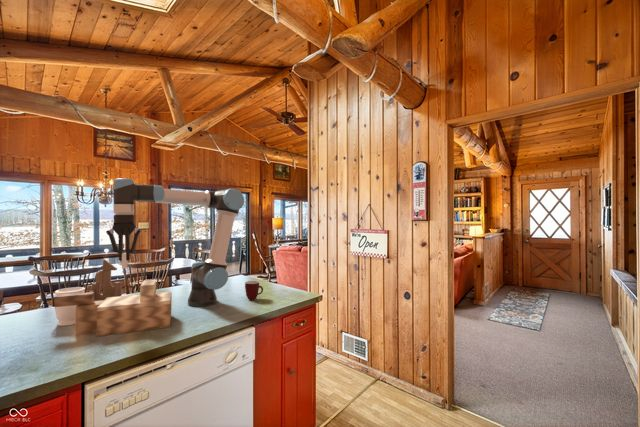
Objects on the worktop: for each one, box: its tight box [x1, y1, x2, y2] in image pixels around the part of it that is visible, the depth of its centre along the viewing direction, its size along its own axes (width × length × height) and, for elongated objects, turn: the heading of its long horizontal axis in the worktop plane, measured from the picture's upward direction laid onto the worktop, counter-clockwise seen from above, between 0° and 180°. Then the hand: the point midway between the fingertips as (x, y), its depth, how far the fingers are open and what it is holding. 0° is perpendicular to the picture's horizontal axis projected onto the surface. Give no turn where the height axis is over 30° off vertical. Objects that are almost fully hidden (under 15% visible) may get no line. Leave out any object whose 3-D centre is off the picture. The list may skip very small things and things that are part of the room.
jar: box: [54, 286, 86, 327], centre depth 131 cm, size 11×10×15 cm
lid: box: [97, 278, 173, 311], centre depth 130 cm, size 26×16×8 cm, turn 115°
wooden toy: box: [89, 258, 123, 301], centre depth 155 cm, size 16×7×25 cm, turn 121°
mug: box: [244, 280, 264, 301], centre depth 172 cm, size 10×8×10 cm
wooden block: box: [53, 291, 95, 308], centre depth 120 cm, size 12×4×4 cm, turn 115°
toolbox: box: [74, 295, 173, 337], centre depth 128 cm, size 34×16×12 cm, turn 115°
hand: (124, 268), depth 128 cm, fingers closed
